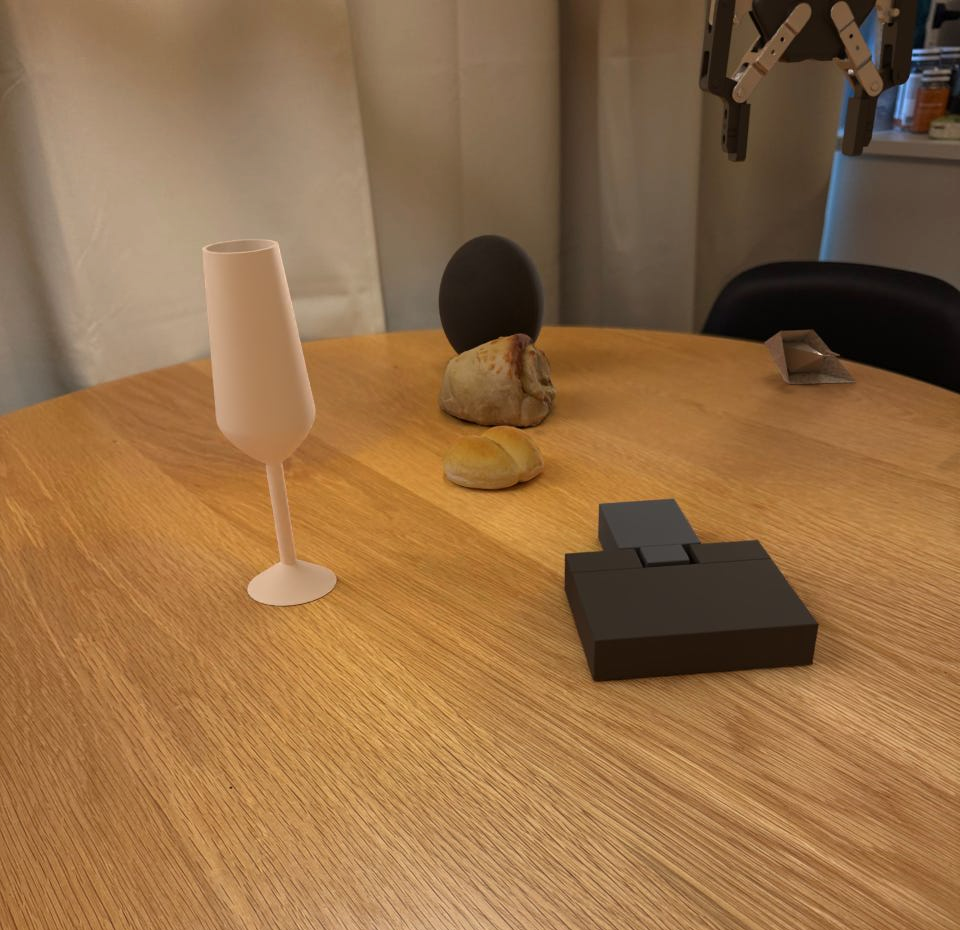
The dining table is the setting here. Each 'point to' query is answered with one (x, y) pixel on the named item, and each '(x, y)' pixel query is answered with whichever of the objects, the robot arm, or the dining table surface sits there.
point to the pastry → (499, 383)
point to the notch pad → (687, 612)
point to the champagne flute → (262, 391)
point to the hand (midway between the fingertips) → (794, 158)
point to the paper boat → (805, 358)
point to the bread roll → (493, 459)
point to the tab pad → (647, 531)
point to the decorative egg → (490, 293)
